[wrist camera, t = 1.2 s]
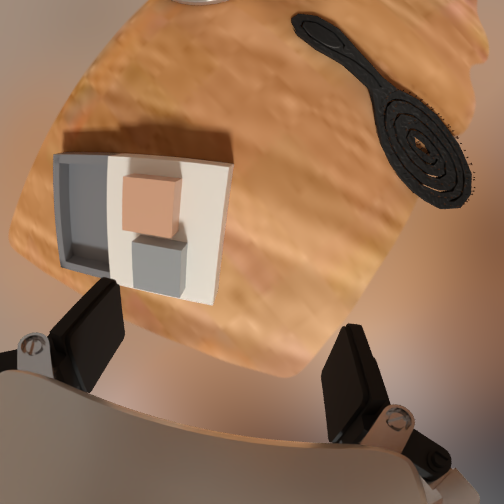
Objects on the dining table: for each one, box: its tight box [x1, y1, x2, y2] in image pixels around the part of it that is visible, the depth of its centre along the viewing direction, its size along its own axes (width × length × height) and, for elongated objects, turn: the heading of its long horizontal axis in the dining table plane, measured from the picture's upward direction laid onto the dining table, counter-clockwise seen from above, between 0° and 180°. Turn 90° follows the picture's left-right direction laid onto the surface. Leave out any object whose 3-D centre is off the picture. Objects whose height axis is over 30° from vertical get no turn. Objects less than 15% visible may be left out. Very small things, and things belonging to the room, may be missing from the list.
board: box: [107, 153, 234, 305], centre depth 28 cm, size 14×12×3 cm
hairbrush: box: [291, 14, 475, 209], centre depth 21 cm, size 8×4×25 cm
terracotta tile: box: [122, 173, 183, 238], centre depth 24 cm, size 5×5×2 cm
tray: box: [53, 152, 120, 278], centre depth 28 cm, size 14×8×2 cm, turn 171°
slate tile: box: [132, 234, 188, 298], centre depth 26 cm, size 5×5×2 cm
